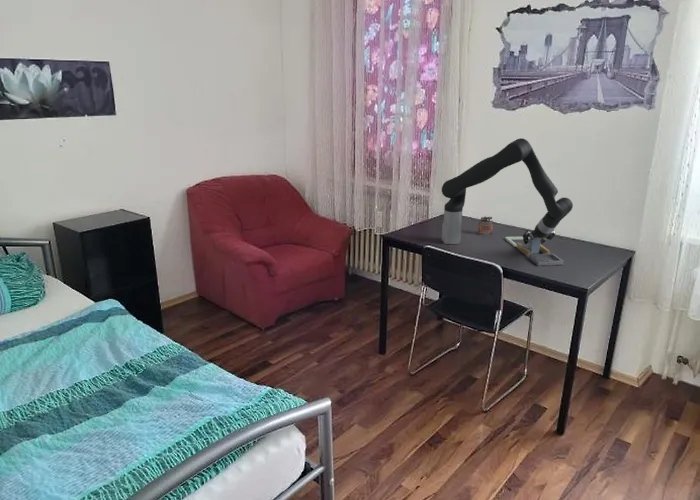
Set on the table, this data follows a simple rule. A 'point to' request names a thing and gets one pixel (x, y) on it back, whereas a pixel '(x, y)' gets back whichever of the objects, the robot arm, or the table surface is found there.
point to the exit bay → (513, 239)
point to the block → (534, 245)
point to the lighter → (485, 226)
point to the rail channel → (527, 251)
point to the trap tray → (546, 259)
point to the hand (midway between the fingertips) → (533, 242)
